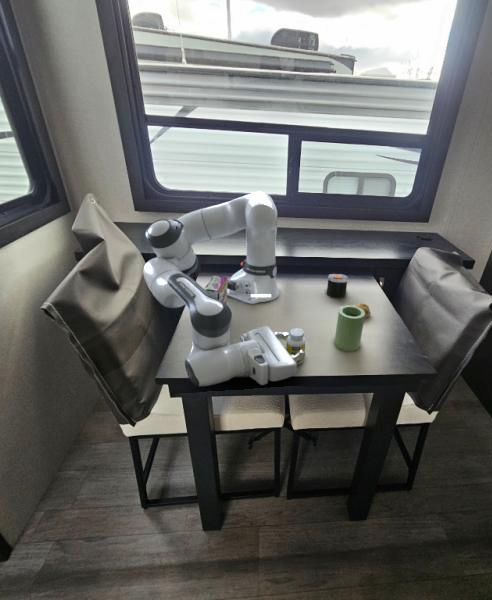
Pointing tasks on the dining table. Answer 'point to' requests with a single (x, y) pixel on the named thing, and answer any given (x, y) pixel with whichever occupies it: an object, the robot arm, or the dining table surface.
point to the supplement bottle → (296, 343)
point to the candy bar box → (218, 288)
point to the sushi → (337, 285)
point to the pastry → (365, 308)
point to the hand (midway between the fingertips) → (296, 343)
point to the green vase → (349, 327)
